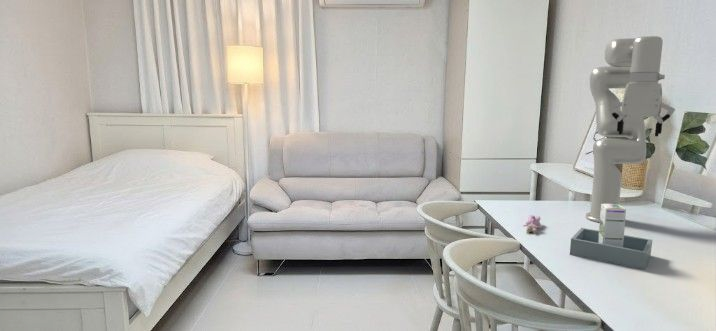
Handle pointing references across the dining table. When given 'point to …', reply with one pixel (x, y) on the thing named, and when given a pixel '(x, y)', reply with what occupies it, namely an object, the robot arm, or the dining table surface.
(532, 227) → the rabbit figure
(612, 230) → the syrup box
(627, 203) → the dining table surface
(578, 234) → the crate
